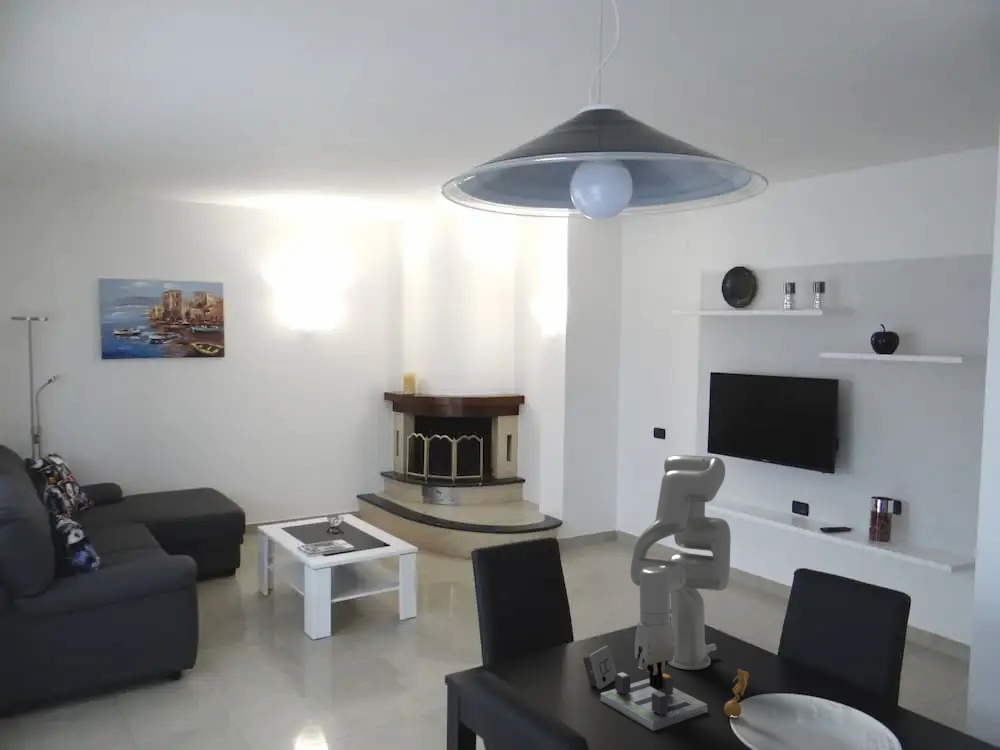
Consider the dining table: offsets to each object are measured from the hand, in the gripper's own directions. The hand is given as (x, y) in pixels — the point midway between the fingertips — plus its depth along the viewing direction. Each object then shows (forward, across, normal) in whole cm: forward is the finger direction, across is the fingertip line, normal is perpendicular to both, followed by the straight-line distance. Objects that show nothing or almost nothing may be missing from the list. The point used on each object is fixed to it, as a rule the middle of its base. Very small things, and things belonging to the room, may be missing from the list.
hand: (656, 687), depth 204 cm
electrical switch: (+5, +3, -19) cm, 20 cm away
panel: (+5, +1, 0) cm, 5 cm away
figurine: (+5, -12, +16) cm, 20 cm away
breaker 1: (+2, +5, -7) cm, 9 cm away
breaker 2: (+2, +5, +7) cm, 9 cm away
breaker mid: (+2, -3, 0) cm, 4 cm away
